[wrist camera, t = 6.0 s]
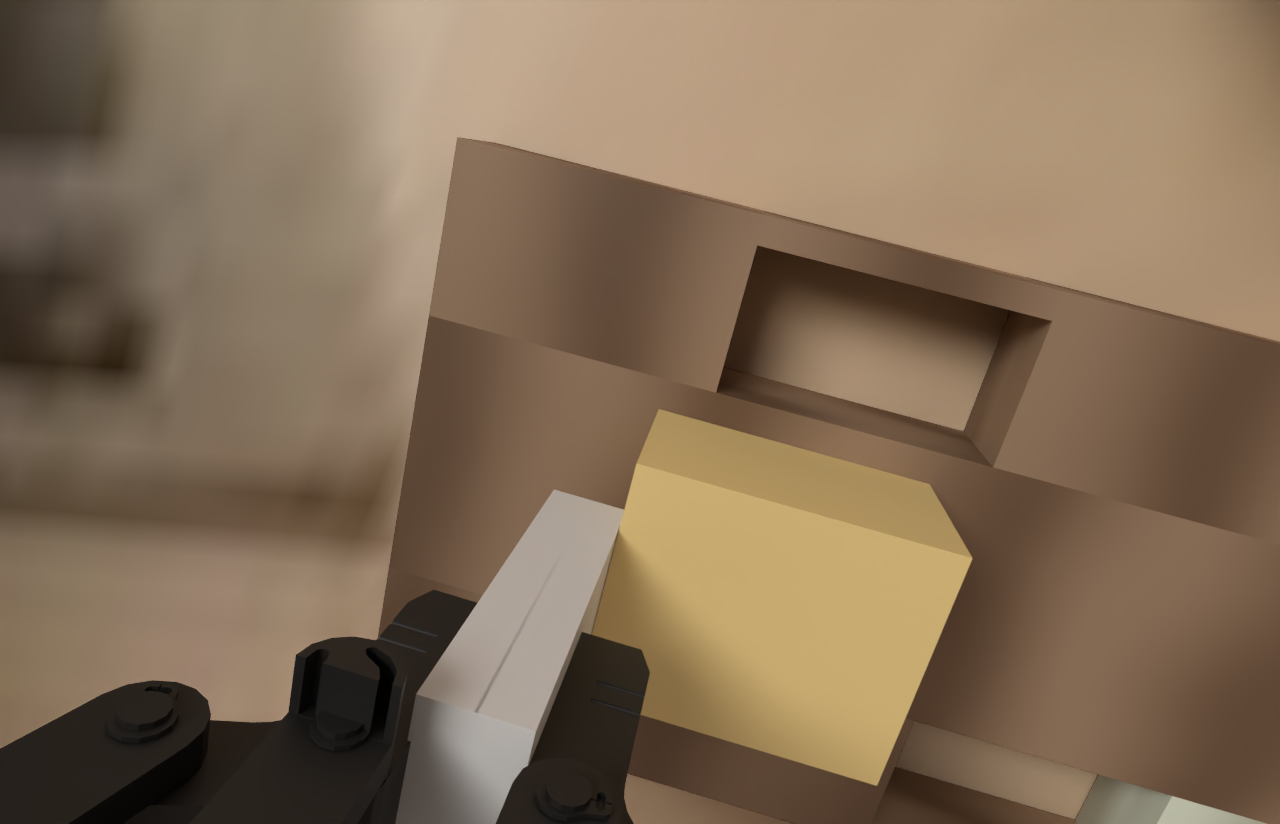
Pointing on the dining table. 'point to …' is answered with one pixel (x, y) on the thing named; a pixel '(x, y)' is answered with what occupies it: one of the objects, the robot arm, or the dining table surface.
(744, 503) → the ochre block
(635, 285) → the board
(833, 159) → the dining table surface
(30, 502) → the dining table surface
